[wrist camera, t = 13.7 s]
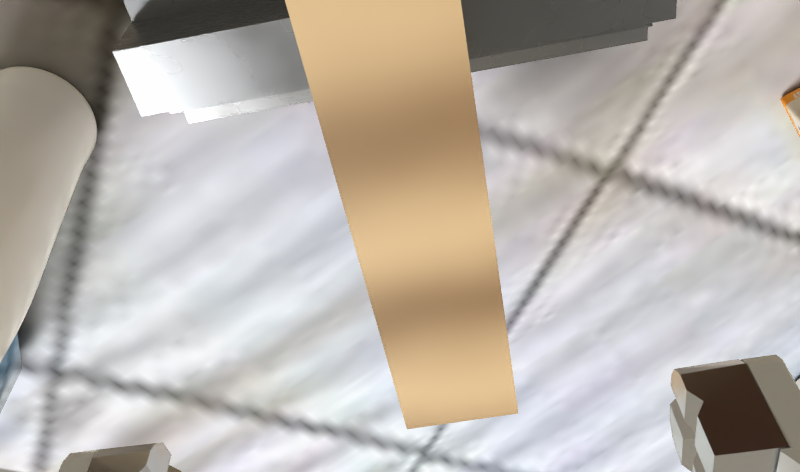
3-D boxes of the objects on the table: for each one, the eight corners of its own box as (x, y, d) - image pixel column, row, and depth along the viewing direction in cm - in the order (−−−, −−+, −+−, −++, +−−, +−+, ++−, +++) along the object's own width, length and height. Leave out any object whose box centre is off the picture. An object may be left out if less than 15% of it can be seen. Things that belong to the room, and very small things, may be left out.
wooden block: (212, -433, 17) (153, -463, 13) (383, -476, 17) (387, -523, 12) (401, 313, 32) (406, 429, 27) (496, 298, 32) (518, 413, 27)
